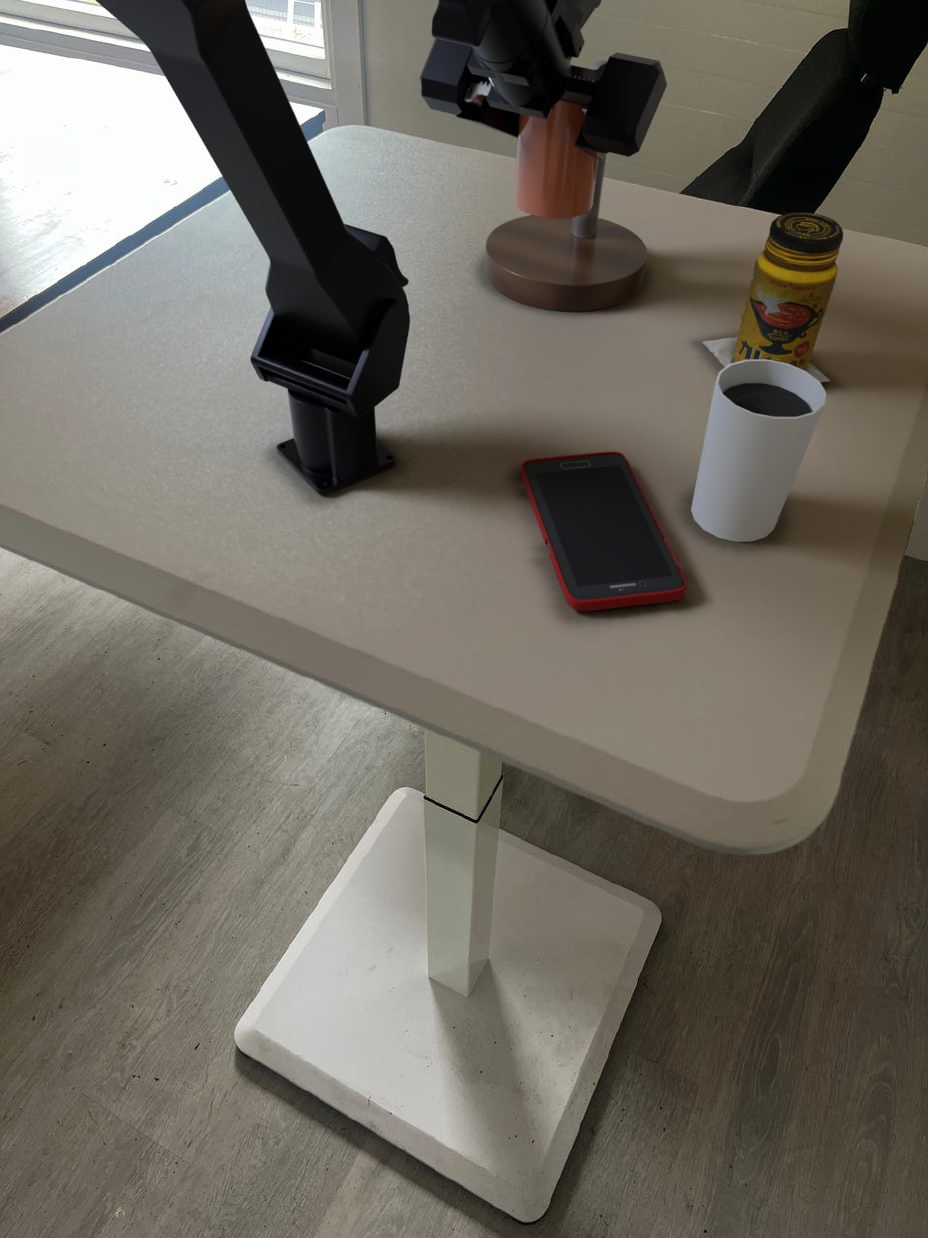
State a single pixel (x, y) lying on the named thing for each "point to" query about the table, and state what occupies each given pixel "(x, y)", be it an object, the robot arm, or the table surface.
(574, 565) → the cell phone
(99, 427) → the table surface
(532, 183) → the cup
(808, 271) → the condiment
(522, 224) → the towel holder
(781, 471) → the white coffee cup
